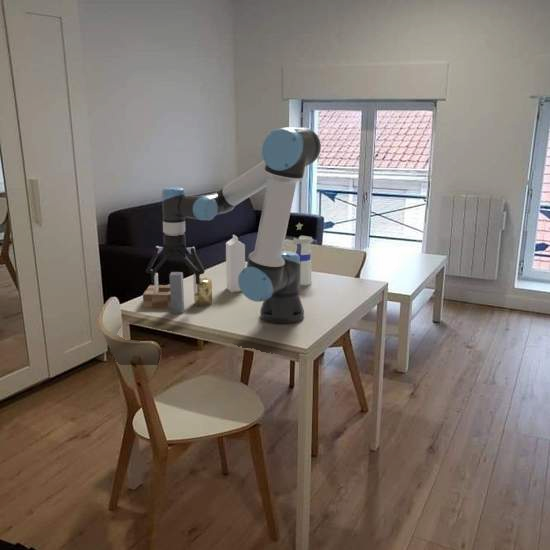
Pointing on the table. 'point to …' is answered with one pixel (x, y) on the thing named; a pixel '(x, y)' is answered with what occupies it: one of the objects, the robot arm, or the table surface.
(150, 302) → the socket block
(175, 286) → the square bit
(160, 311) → the table surface
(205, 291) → the round bit
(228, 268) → the milk
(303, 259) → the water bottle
